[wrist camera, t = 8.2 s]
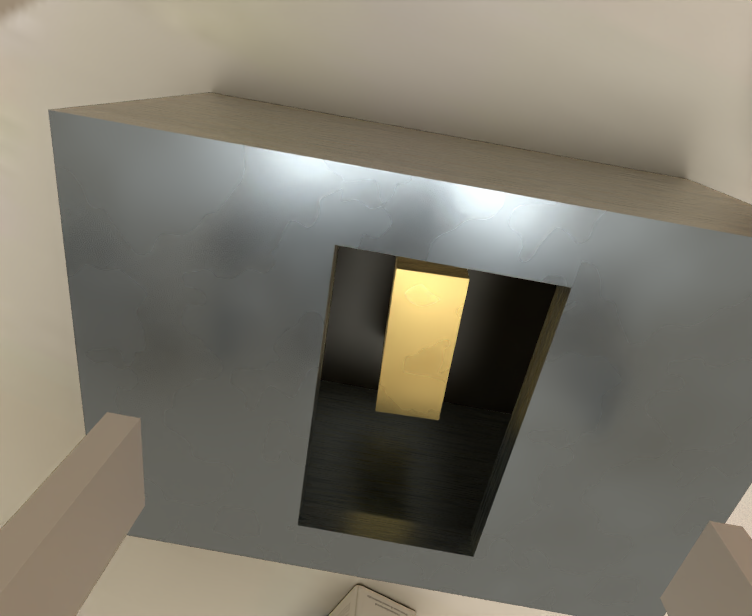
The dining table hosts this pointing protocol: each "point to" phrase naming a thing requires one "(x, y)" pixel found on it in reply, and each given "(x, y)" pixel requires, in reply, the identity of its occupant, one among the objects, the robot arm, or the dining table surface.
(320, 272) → the coin box
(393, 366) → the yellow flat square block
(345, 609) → the ink box
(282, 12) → the dining table surface
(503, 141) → the dining table surface
